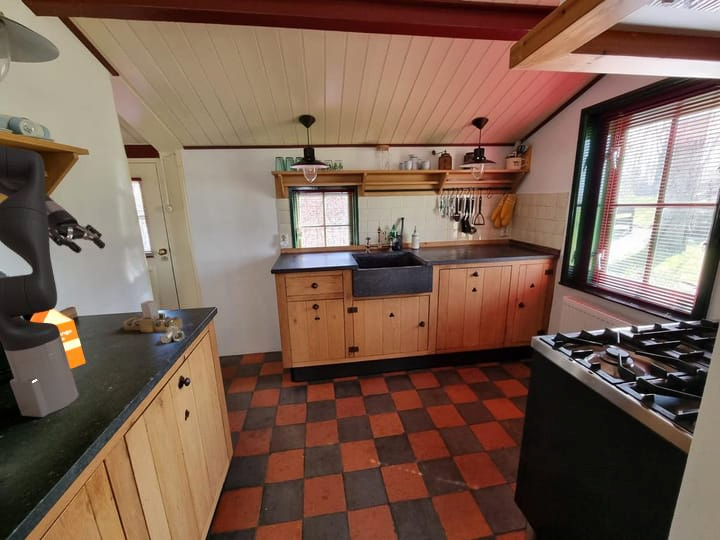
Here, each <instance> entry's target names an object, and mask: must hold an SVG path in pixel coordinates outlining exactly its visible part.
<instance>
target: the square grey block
mask: <svg viewBox="0 0 720 540" xmlns="http://www.w3.org/2000/svg"><path fill="white" fill-rule="evenodd" d="M140 309H141V312H142V317H144V319H153V323H154V322H156V321H158V320H160V318H159V313H160V312H159V309H158V303H157V300H146V301H144V302H141V303H140Z"/></svg>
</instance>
